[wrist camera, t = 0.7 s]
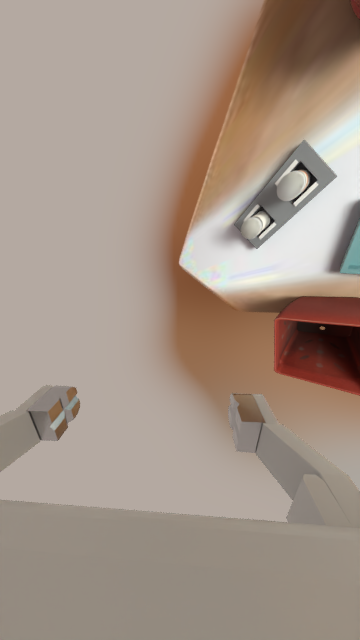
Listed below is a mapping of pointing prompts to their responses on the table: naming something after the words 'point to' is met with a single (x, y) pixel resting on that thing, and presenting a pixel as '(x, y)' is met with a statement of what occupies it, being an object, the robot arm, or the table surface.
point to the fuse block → (288, 209)
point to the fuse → (255, 224)
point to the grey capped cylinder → (293, 184)
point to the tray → (352, 254)
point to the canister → (356, 7)
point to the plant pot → (320, 342)
